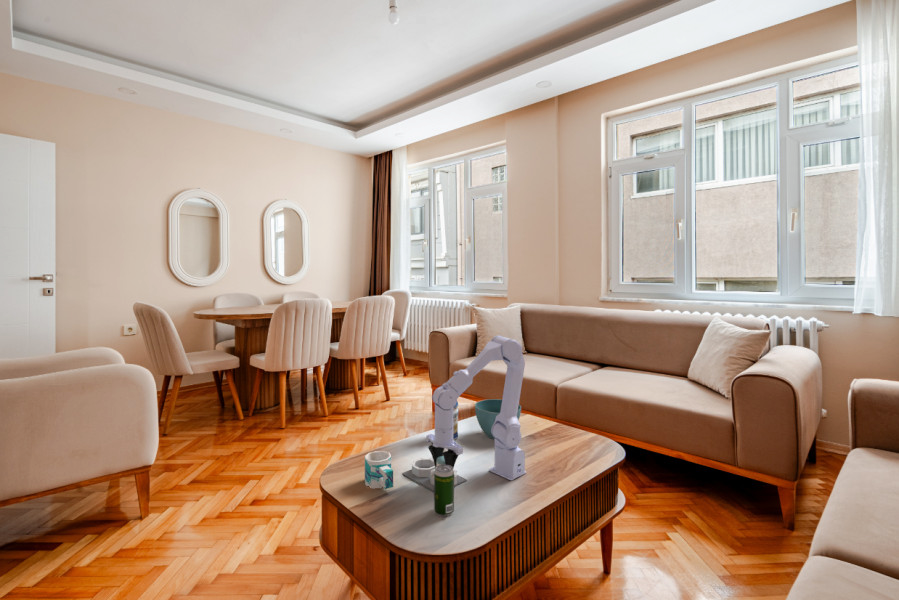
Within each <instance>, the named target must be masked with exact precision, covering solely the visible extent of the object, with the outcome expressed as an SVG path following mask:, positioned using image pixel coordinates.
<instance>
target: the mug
mask: <svg viewBox="0 0 899 600" xmlns="http://www.w3.org/2000/svg"><path fill="white" fill-rule="evenodd" d="M364 485H366V487H367V486H369V487H371V488H370V489H375V488H380V489H382V487H383V489H385V490H388V489H391V488H393V487H394V470H393V469H392V455H391V452H389V451H386V450H374V451H371V452H368V453H367V454H365V455H364ZM369 487H368V488H369Z"/></svg>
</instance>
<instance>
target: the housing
mask: <svg viewBox="0 0 899 600" xmlns="http://www.w3.org/2000/svg"><path fill="white" fill-rule="evenodd" d="M434 471H435V464H434V460H433V458H425V457H424V458H418V459H416V460H413V461H412V464H411V469H409V470H407V471H404V472H402V475H403V476H404V475H405V477H406V478H409V480H411V479H412V480H411V481H413V480H414V481H413V482H415V481H416V482H415V483H417V484H418V485H421V486H422V487H424V488H426V489H427V490H429V491H431V492H433V493H434ZM453 471H454V488H455V487H457V486H459V485H462V484H463V483H466V482H467V480H468V479H467V478H465V477H463V476H461V475H458V470H455V469H454V468H453Z"/></svg>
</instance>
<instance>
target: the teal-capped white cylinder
mask: <svg viewBox="0 0 899 600" xmlns="http://www.w3.org/2000/svg"><path fill="white" fill-rule="evenodd" d="M439 465H445V460H444V456H440V457H438V458H437V466H439Z"/></svg>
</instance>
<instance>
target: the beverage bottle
mask: <svg viewBox="0 0 899 600" xmlns="http://www.w3.org/2000/svg"><path fill="white" fill-rule="evenodd" d="M440 387H443V385H441V386H440ZM458 407H459V402H458V401H457V403H456V405H455V406H454V407H453V413H454V414H453V440H454V441H456V440H457V439H458V437H459V432H458V431H459V429H458V427H459V408H458Z"/></svg>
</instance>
